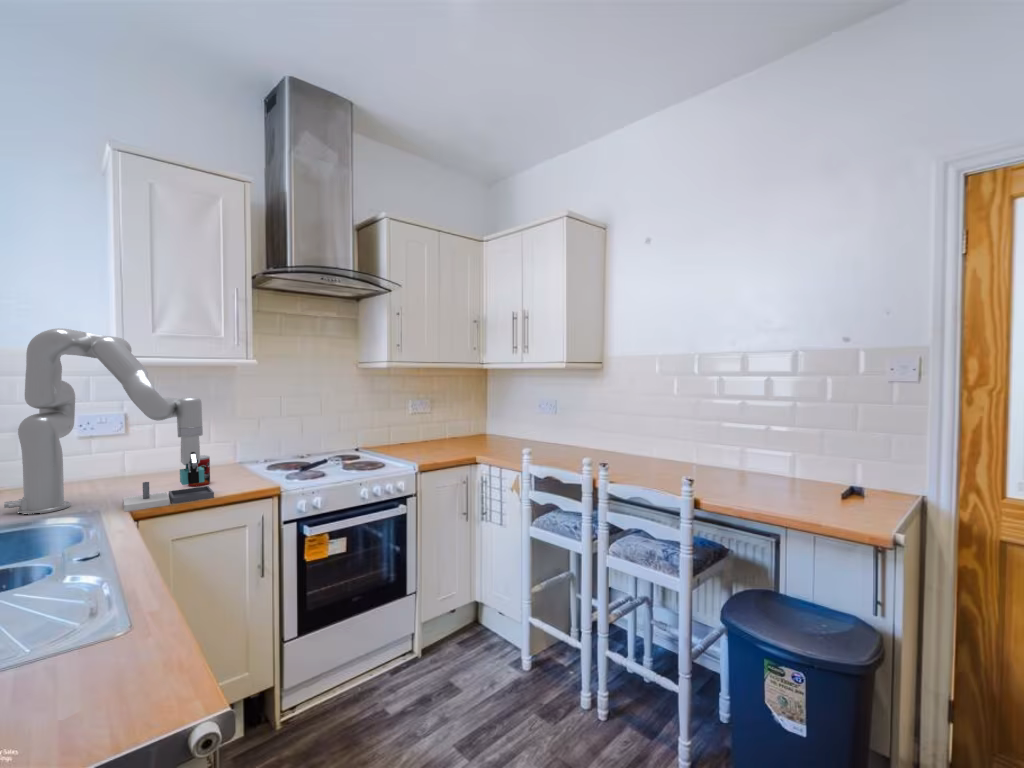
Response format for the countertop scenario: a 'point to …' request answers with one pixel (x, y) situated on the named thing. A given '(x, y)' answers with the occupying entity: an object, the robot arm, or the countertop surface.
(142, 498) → the stake block
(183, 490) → the tray
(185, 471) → the teal notched block
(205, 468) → the canned food
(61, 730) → the countertop surface
